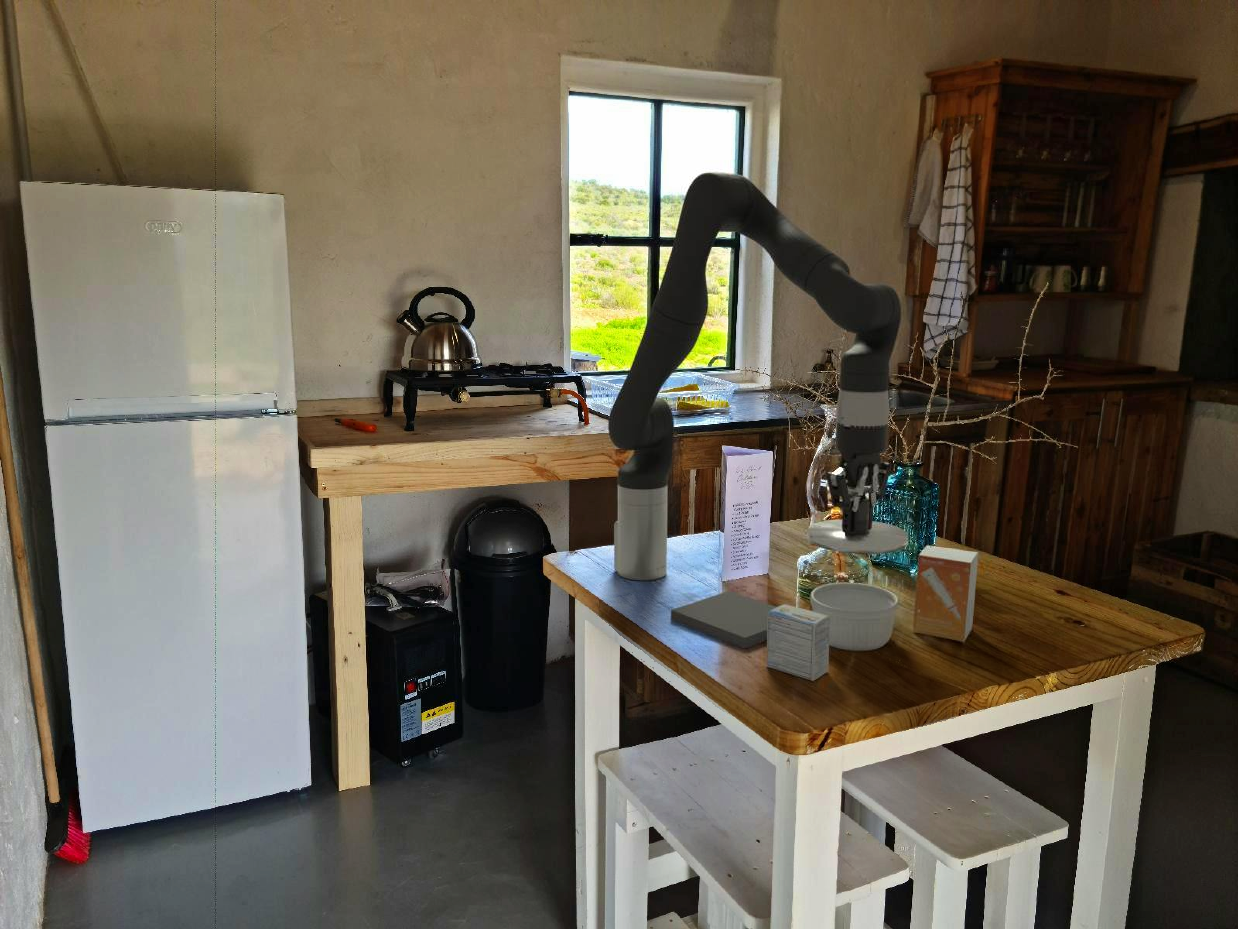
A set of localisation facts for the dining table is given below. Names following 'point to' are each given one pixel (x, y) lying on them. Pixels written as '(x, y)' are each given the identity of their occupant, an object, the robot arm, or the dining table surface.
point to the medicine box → (798, 641)
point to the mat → (727, 618)
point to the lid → (858, 535)
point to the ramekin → (856, 614)
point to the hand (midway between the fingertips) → (856, 531)
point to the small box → (945, 592)
